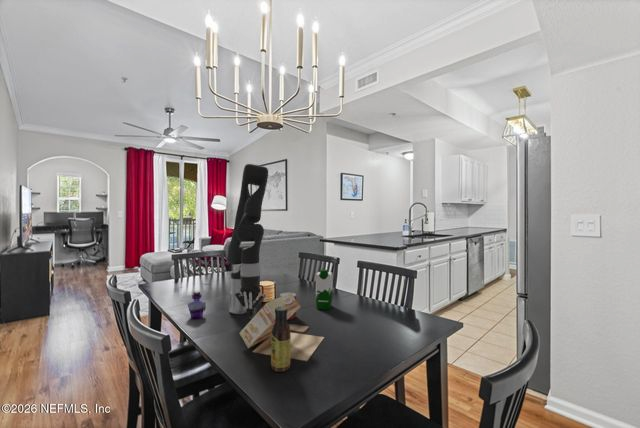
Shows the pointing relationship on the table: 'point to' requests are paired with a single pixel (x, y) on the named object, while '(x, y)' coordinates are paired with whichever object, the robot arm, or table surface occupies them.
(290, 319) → the canned food
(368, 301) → the table surface
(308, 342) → the cork mat
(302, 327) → the walnut turner
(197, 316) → the potion bottle
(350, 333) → the table surface
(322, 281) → the milk carton
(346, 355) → the table surface
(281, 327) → the sauce bottle
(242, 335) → the coffeecake box
